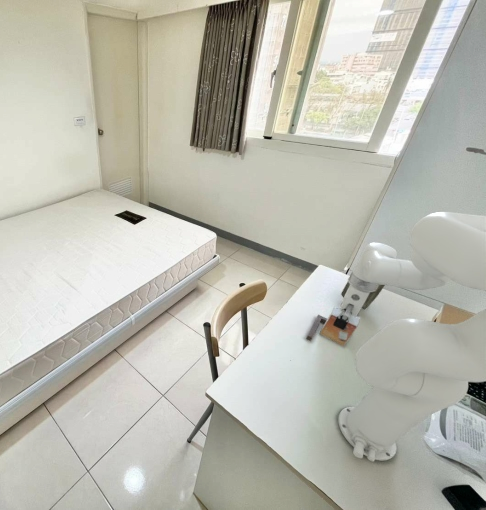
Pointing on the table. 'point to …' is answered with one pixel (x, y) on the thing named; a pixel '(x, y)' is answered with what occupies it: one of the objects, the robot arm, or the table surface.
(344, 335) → the small box
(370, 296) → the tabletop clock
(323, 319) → the corner stop
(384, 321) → the table surface
